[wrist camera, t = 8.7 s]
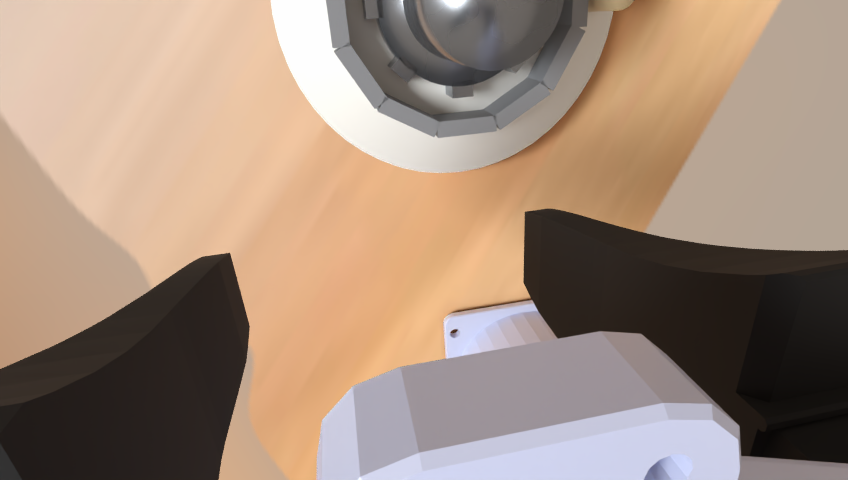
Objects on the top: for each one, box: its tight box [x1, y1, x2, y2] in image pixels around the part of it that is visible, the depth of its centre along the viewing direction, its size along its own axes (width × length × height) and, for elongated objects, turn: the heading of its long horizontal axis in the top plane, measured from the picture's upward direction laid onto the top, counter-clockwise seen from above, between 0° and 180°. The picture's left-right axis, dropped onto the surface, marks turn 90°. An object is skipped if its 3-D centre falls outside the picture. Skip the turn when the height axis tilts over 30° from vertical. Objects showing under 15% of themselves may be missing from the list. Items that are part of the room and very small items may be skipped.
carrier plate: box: [271, 0, 634, 173], centre depth 18 cm, size 13×13×3 cm
